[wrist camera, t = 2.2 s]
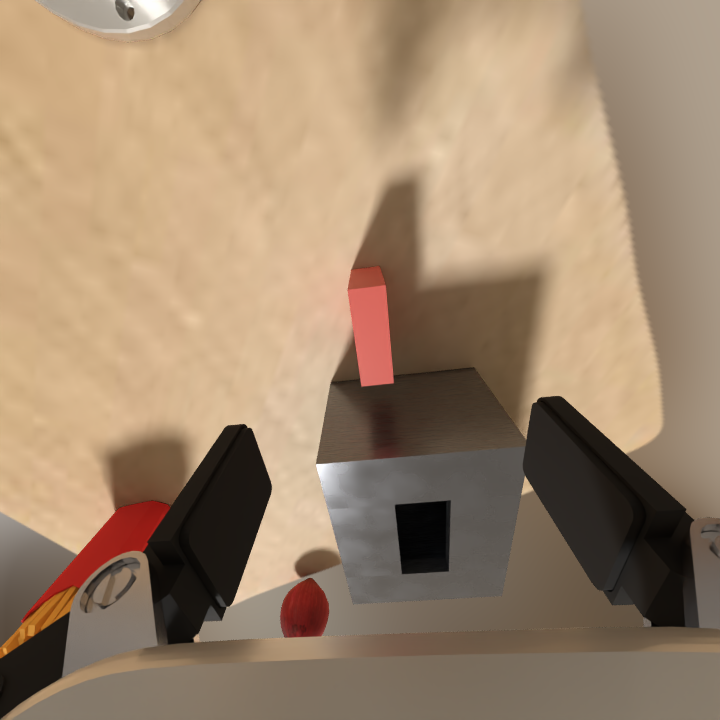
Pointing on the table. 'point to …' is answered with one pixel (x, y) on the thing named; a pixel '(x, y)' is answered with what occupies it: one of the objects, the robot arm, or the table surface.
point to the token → (371, 325)
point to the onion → (304, 611)
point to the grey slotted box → (421, 486)
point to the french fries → (90, 565)
